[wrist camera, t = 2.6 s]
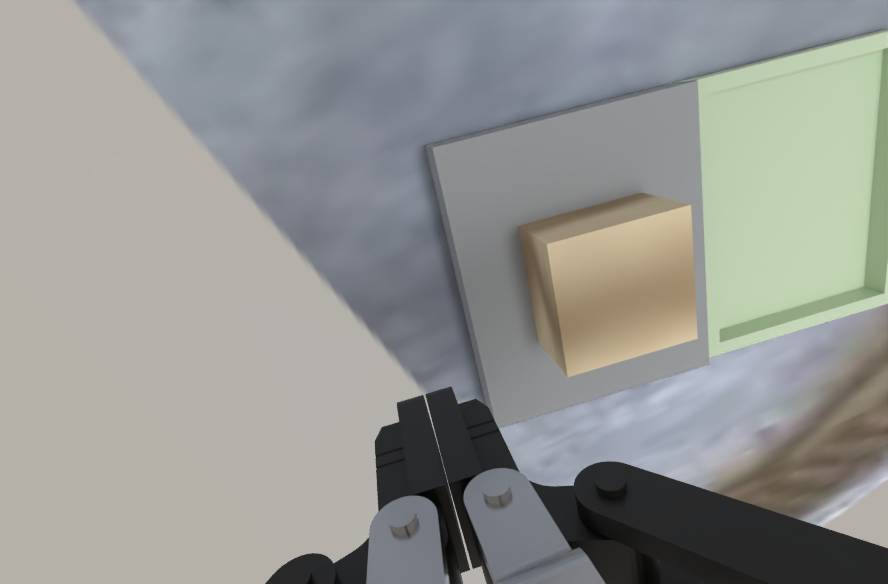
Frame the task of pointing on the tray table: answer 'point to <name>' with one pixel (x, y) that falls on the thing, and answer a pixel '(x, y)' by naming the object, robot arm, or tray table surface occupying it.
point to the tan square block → (612, 280)
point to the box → (795, 190)
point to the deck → (550, 194)
